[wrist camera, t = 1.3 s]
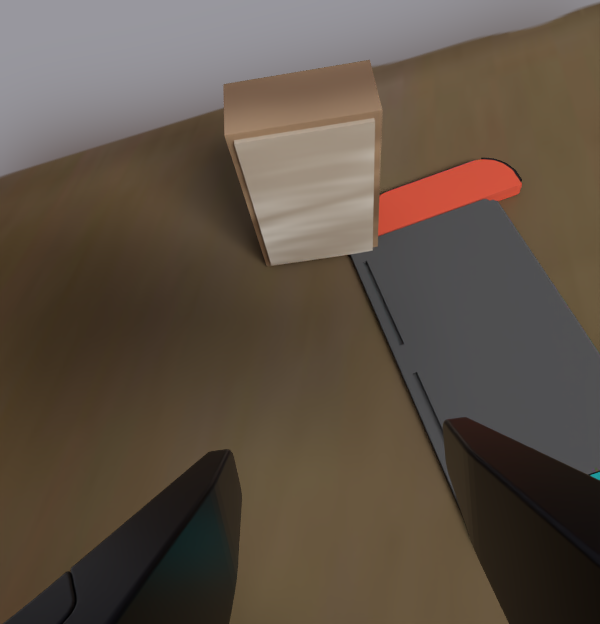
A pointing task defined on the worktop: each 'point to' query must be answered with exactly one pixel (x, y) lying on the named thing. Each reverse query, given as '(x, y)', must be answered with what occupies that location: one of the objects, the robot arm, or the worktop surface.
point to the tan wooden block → (308, 160)
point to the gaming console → (481, 317)
